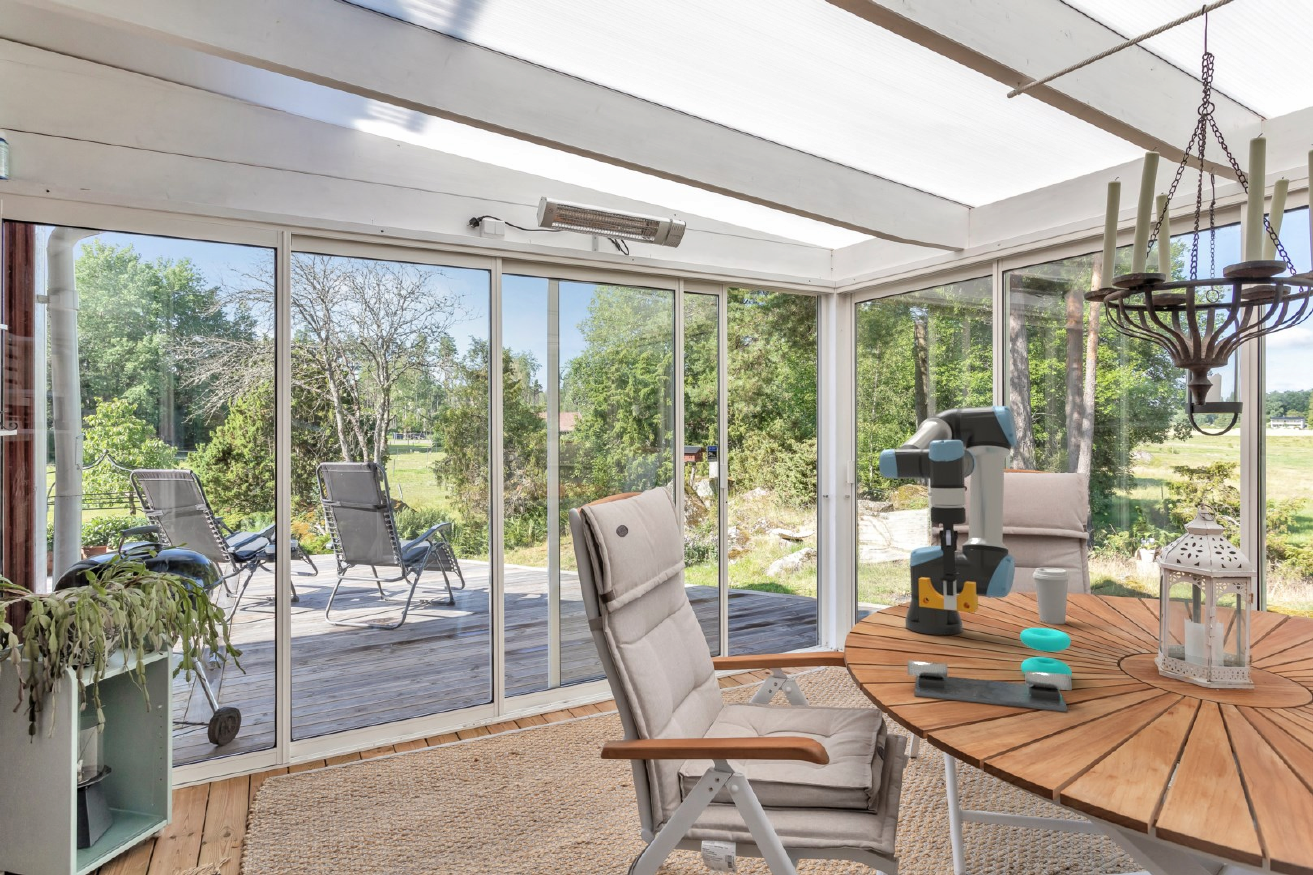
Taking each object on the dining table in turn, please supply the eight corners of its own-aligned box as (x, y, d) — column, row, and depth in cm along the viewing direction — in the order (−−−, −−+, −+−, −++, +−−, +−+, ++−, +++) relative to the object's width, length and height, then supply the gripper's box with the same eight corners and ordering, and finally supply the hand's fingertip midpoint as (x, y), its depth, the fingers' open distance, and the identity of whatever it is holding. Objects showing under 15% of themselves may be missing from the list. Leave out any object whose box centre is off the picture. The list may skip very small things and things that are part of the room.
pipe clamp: (978, 609, 162) (977, 580, 162) (973, 612, 158) (973, 583, 158) (924, 602, 169) (923, 575, 169) (919, 606, 165) (918, 578, 165)
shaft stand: (909, 677, 159) (908, 652, 159) (1066, 692, 148) (1065, 666, 148) (907, 694, 148) (906, 668, 148) (1076, 712, 136) (1075, 684, 137)
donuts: (1066, 628, 161) (1074, 639, 151) (1067, 671, 161) (1075, 686, 151) (1017, 624, 164) (1022, 636, 155) (1018, 667, 164) (1023, 681, 155)
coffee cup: (1036, 615, 211) (1034, 566, 212) (1073, 619, 206) (1071, 568, 206) (1031, 622, 204) (1029, 571, 204) (1069, 627, 198) (1067, 573, 198)
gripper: (931, 503, 173) (934, 597, 173) (929, 509, 157) (932, 613, 156) (964, 503, 170) (967, 599, 170) (966, 509, 154) (968, 616, 153)
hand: (950, 606), depth 163 cm, fingers closed on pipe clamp, 5 cm apart
